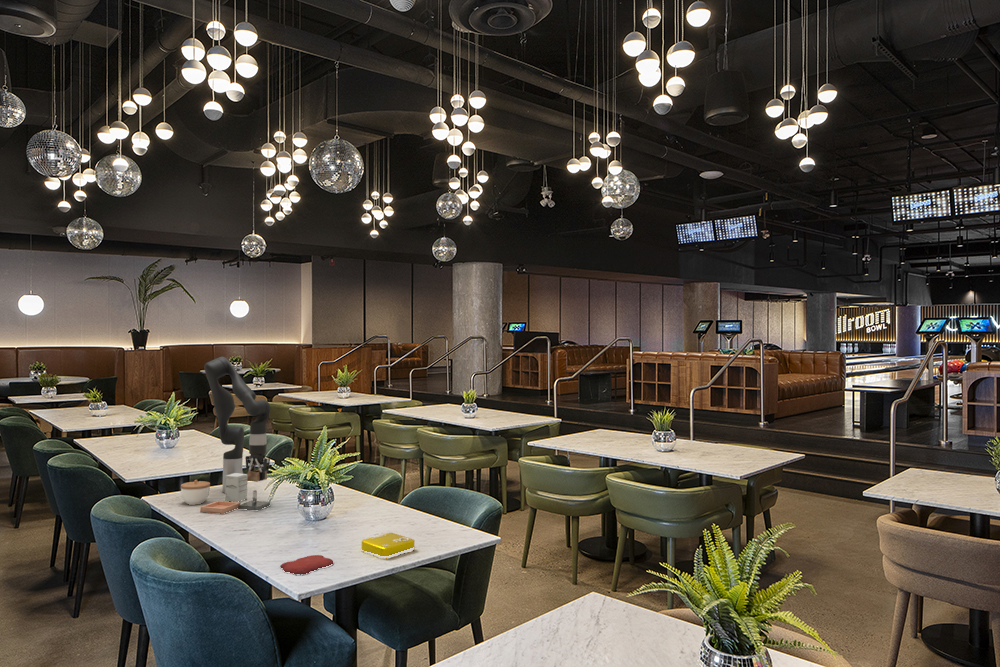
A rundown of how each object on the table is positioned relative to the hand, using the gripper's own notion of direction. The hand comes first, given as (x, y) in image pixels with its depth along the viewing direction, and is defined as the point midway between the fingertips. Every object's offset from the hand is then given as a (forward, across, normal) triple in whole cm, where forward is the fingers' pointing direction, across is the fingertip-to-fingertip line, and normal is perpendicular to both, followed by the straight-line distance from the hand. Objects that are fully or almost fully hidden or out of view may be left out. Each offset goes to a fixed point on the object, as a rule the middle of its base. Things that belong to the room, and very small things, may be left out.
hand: (257, 479), depth 293 cm
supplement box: (+13, -19, +4) cm, 24 cm away
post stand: (+13, 0, -1) cm, 13 cm away
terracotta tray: (+13, -10, -12) cm, 20 cm away
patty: (+13, +78, -46) cm, 91 cm away
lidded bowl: (+13, -31, -9) cm, 35 cm away
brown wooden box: (0, 0, 0) cm, 0 cm away
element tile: (+14, +91, -19) cm, 94 cm away
